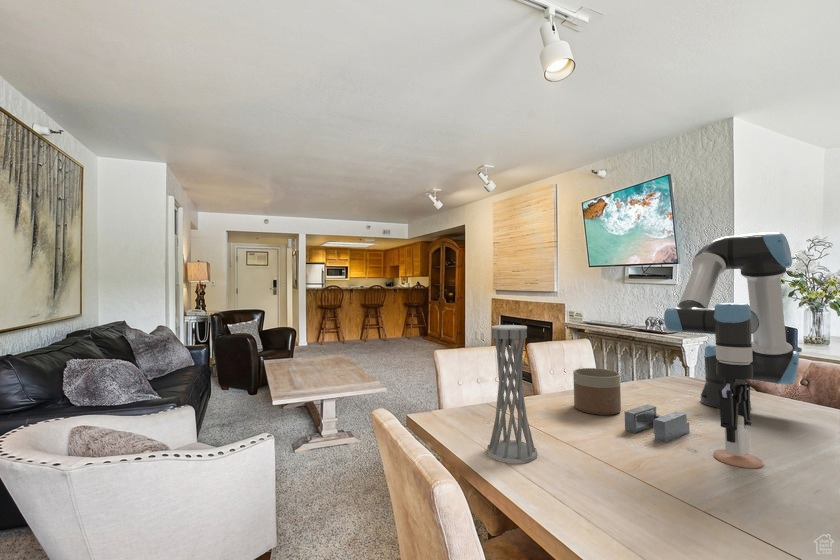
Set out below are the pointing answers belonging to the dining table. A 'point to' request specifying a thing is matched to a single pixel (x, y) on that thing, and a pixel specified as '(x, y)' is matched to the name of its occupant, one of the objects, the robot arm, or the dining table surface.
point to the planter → (597, 391)
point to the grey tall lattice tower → (510, 448)
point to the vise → (656, 423)
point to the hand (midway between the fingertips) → (737, 451)
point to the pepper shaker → (742, 437)
